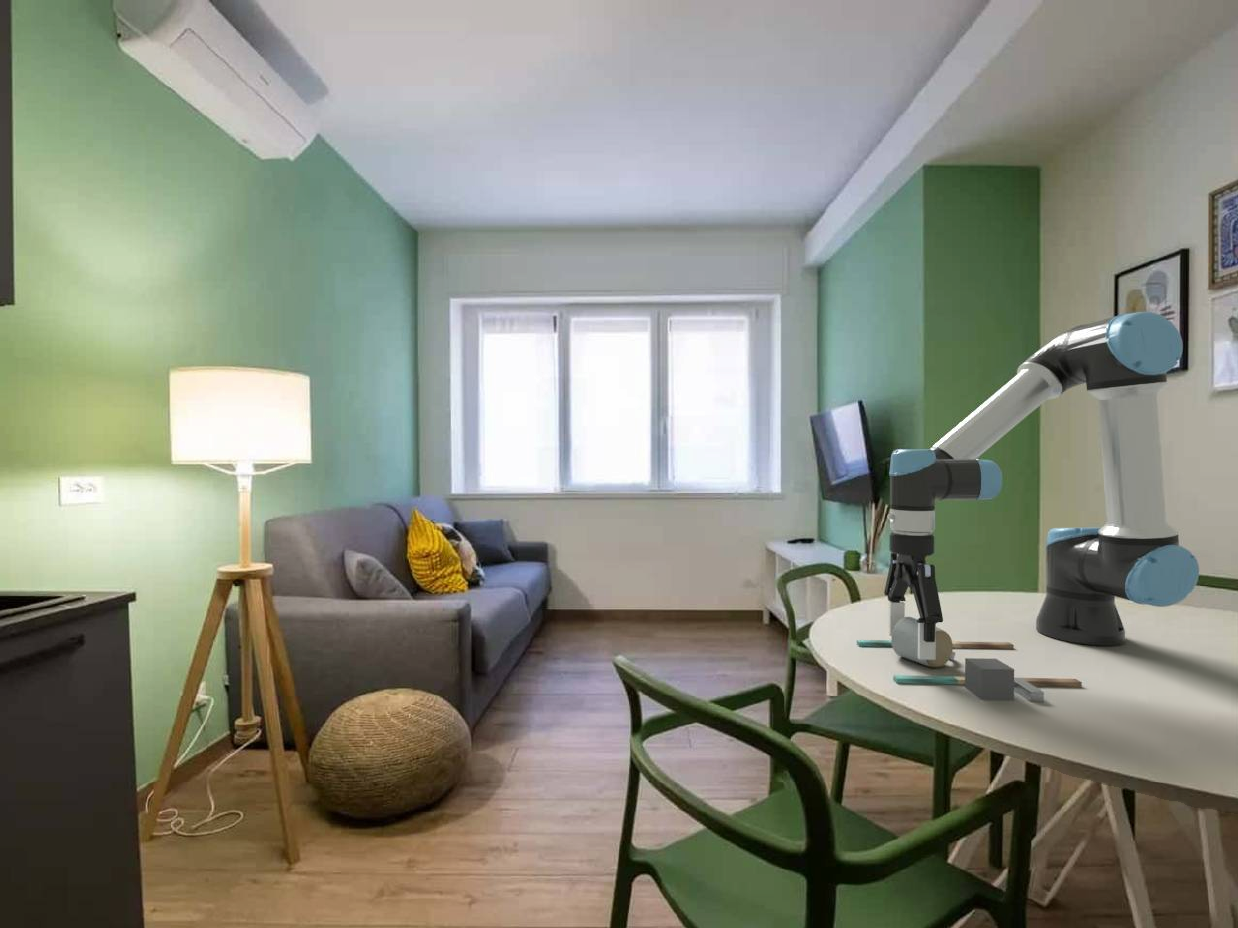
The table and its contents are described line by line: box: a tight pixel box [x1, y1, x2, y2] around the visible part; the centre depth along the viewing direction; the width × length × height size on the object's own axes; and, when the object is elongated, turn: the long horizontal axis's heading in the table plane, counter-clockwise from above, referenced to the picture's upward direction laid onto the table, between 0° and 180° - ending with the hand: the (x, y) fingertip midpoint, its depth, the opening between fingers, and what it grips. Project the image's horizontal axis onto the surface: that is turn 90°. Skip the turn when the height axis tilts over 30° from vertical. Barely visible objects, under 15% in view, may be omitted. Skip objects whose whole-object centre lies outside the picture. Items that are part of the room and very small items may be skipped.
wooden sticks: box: [856, 639, 1083, 688], centre depth 113 cm, size 30×21×1 cm
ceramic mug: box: [890, 616, 956, 669], centre depth 114 cm, size 11×8×8 cm
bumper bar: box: [1014, 677, 1045, 703], centre depth 99 cm, size 2×6×2 cm, turn 176°
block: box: [964, 657, 1015, 701], centre depth 99 cm, size 5×5×5 cm
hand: (910, 646), depth 114 cm, fingers open, 13 cm apart
